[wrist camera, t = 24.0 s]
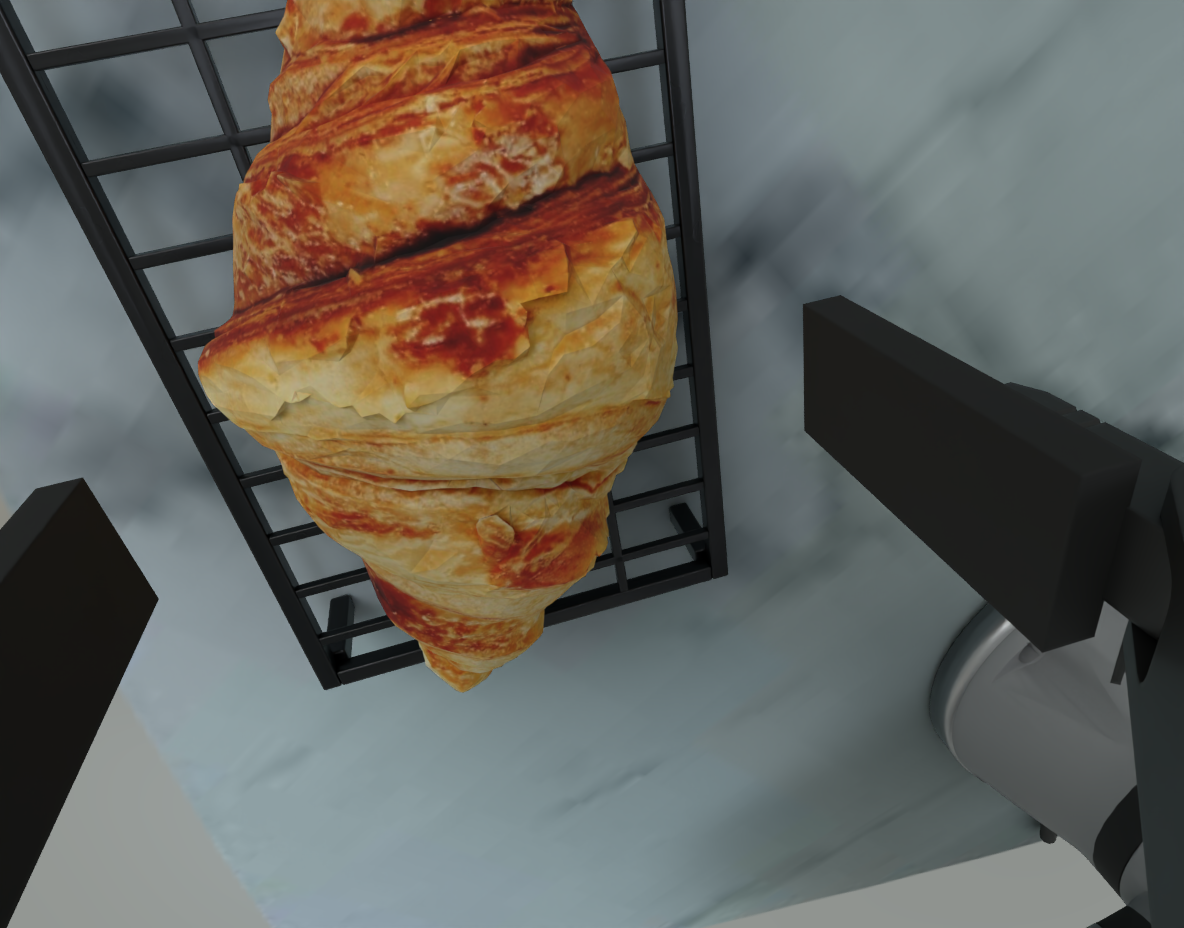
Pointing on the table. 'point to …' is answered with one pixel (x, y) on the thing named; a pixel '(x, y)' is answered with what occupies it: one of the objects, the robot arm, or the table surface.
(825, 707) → the table surface
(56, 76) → the table surface
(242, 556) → the table surface
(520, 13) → the croissant
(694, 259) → the cooling rack
